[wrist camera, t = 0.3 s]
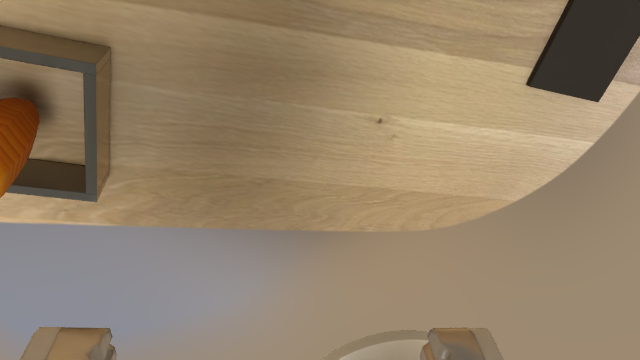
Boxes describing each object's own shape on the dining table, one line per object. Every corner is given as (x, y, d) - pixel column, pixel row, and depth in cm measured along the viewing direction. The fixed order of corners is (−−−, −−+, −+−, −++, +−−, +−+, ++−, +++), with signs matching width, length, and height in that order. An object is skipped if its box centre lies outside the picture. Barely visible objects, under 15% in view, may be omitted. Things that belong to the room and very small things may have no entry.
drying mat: (594, 99, 42) (598, 102, 41) (525, 84, 40) (529, 86, 39) (676, -34, 36) (682, -33, 35) (600, -61, 34) (606, -60, 33)
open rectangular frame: (109, 176, 38) (96, 202, 35) (-46, 157, 35) (-75, 183, 32) (110, 47, 32) (96, 64, 29) (-74, 11, 29) (-114, 25, 26)
